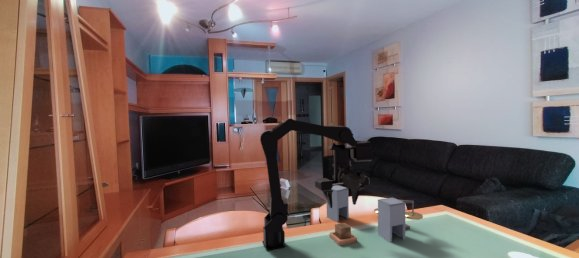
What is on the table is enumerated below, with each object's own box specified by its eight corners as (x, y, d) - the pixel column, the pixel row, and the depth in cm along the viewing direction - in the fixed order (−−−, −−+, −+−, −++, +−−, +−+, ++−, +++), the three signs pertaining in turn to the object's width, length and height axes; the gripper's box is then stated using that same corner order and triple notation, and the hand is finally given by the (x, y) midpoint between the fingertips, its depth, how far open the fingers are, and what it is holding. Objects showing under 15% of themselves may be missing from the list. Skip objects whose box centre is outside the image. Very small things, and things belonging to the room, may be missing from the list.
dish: (339, 245, 92) (339, 241, 92) (329, 236, 99) (329, 232, 99) (357, 242, 95) (357, 237, 95) (346, 233, 101) (346, 229, 101)
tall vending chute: (337, 222, 112) (337, 190, 112) (326, 217, 118) (326, 187, 117) (348, 218, 116) (348, 188, 115) (337, 213, 121) (337, 184, 121)
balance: (412, 240, 95) (412, 204, 94) (370, 216, 117) (370, 187, 117) (426, 237, 97) (427, 202, 96) (383, 214, 120) (383, 186, 119)
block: (340, 240, 94) (340, 228, 94) (335, 235, 98) (335, 224, 98) (350, 238, 96) (350, 226, 95) (344, 233, 99) (344, 222, 99)
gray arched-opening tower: (389, 242, 94) (389, 205, 93) (378, 234, 100) (377, 199, 99) (405, 239, 96) (405, 202, 95) (392, 231, 102) (392, 197, 101)
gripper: (328, 168, 85) (329, 218, 86) (379, 163, 91) (379, 210, 92) (313, 162, 95) (314, 206, 96) (360, 158, 101) (360, 200, 102)
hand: (342, 206), depth 96 cm, fingers open, 9 cm apart
